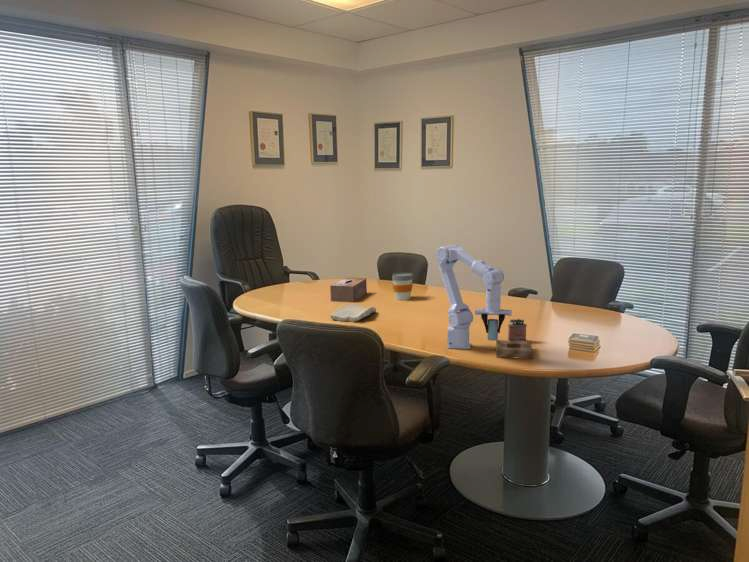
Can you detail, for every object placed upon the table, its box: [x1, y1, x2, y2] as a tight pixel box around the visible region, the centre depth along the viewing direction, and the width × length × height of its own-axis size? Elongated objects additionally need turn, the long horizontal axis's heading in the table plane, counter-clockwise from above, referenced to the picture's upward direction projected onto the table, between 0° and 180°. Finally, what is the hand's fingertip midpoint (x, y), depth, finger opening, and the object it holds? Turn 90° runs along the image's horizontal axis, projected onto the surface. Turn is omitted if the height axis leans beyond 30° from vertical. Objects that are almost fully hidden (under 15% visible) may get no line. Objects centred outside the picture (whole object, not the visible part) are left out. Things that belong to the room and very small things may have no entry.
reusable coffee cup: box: [391, 272, 414, 301], centre depth 327 cm, size 13×13×15 cm
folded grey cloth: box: [329, 303, 377, 323], centre depth 289 cm, size 24×8×20 cm
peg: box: [487, 318, 499, 342], centre depth 218 cm, size 4×4×8 cm
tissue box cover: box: [329, 277, 368, 303], centre depth 336 cm, size 26×14×10 cm, turn 163°
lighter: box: [507, 318, 527, 341], centre depth 238 cm, size 8×3×10 cm, turn 92°
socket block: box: [495, 339, 534, 359], centre depth 223 cm, size 14×14×3 cm
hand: (492, 332), depth 218 cm, fingers closed on peg, 4 cm apart
